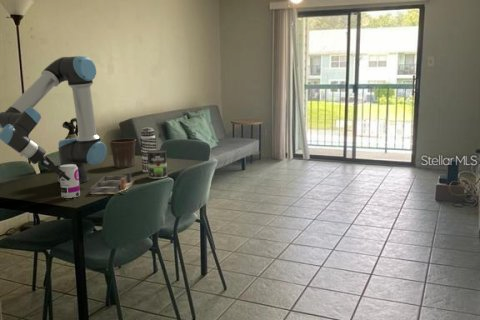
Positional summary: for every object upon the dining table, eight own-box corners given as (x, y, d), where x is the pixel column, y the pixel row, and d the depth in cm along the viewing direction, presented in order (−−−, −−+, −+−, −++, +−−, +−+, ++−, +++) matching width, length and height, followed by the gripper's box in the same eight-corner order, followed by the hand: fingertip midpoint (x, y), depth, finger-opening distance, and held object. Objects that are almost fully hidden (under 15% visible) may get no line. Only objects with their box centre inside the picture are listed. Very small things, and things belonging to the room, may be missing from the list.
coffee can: (168, 177, 257) (167, 152, 254) (149, 179, 254) (147, 153, 251) (166, 174, 266) (165, 149, 264) (147, 175, 264) (146, 150, 261)
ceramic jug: (74, 170, 283) (69, 120, 278) (55, 168, 290) (50, 119, 284) (94, 164, 298) (90, 117, 293) (75, 163, 305) (71, 116, 299)
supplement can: (82, 194, 225) (79, 163, 222) (77, 199, 217) (74, 167, 214) (65, 195, 225) (62, 164, 222) (59, 199, 217) (56, 167, 214)
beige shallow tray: (89, 195, 224) (88, 182, 222) (104, 182, 250) (103, 170, 249) (124, 194, 224) (123, 181, 223) (134, 181, 251) (133, 169, 249)
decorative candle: (146, 173, 270) (143, 129, 266) (139, 170, 278) (136, 127, 273) (160, 170, 276) (158, 127, 271) (153, 168, 283) (151, 126, 278)
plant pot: (131, 169, 283) (130, 142, 280) (106, 168, 285) (104, 142, 282) (141, 163, 298) (140, 138, 296) (117, 163, 301) (115, 138, 298)
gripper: (22, 155, 219) (60, 182, 229) (31, 163, 198) (71, 192, 208) (34, 142, 220) (70, 170, 231) (43, 149, 199) (83, 179, 210)
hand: (71, 181), depth 220 cm, fingers open, 13 cm apart
